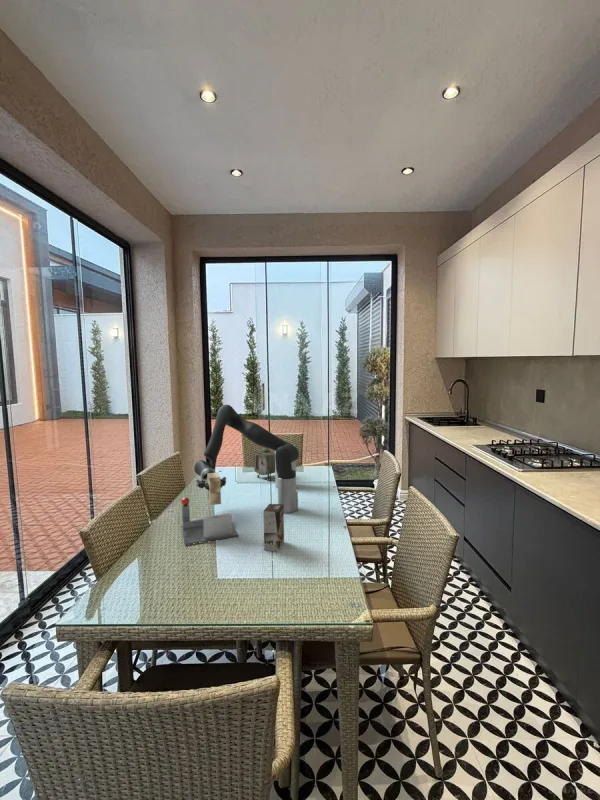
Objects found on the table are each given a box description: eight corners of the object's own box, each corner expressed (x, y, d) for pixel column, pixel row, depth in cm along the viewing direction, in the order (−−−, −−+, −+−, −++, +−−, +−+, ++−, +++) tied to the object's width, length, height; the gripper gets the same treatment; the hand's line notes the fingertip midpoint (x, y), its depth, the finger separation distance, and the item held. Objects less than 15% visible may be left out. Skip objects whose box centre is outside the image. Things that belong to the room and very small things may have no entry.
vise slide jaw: (228, 519, 185) (227, 491, 184) (230, 521, 182) (229, 493, 181) (181, 526, 178) (180, 496, 177) (182, 529, 174) (181, 499, 173)
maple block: (218, 498, 178) (217, 472, 177) (220, 503, 171) (220, 476, 169) (207, 499, 176) (207, 473, 175) (210, 505, 169) (209, 478, 168)
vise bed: (229, 520, 187) (228, 501, 186) (238, 537, 168) (237, 516, 167) (181, 527, 179) (180, 508, 178) (184, 545, 160) (183, 524, 159)
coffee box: (279, 551, 154) (278, 511, 153) (263, 550, 155) (262, 510, 154) (284, 541, 163) (284, 503, 162) (269, 540, 164) (269, 502, 163)
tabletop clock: (254, 477, 259) (253, 440, 257) (265, 474, 265) (264, 438, 263) (267, 482, 249) (266, 443, 247) (278, 479, 255) (278, 441, 253)
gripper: (193, 470, 184) (197, 480, 168) (223, 467, 189) (230, 477, 173) (194, 486, 185) (198, 497, 169) (224, 483, 190) (231, 493, 174)
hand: (214, 487), depth 171 cm, fingers closed on maple block, 4 cm apart
